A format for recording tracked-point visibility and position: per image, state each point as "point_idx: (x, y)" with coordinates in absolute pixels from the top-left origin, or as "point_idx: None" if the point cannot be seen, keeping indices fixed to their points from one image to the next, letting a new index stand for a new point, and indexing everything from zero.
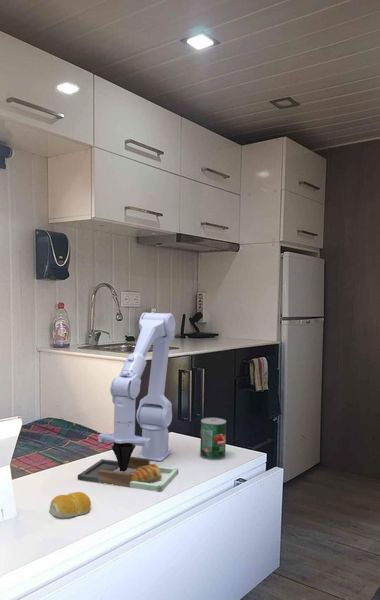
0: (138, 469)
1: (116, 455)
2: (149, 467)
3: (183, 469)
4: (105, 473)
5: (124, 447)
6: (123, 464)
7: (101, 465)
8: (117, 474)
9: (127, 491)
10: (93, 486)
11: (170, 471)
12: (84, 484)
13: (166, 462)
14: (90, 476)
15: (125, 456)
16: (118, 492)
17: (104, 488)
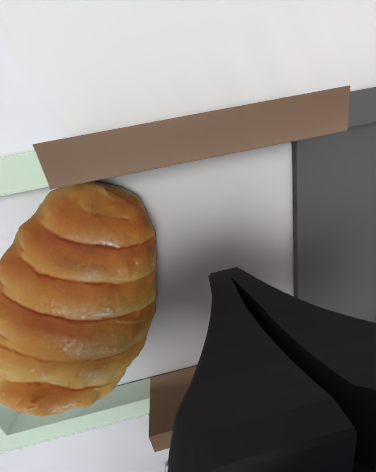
0: (87, 300)
1: (323, 314)
2: (22, 357)
3: (26, 462)
4: (275, 99)
5: (275, 469)
6: (223, 292)
7: (374, 306)
8: (163, 122)
9: (27, 67)
10: (288, 26)
11: (28, 418)
12: (358, 28)
13: (143, 468)
14: (371, 99)
15: (219, 342)
16: (67, 9)
17: (203, 32)
